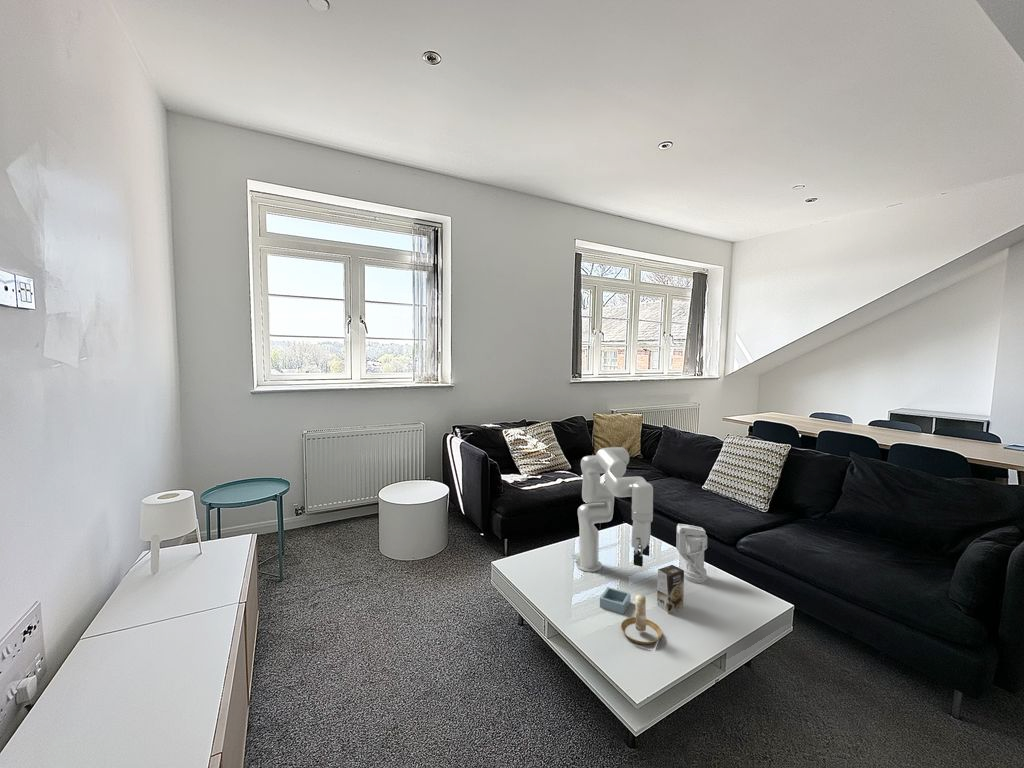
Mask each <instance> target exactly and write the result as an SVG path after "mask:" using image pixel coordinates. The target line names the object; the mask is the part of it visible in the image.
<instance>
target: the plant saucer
mask: <svg viewBox="0 0 1024 768" xmlns="http://www.w3.org/2000/svg"><path fill="white" fill-rule="evenodd" d="M632 624H633V625H634V624H636V616H633V617H628V618H625V619H623V620H622V622H621V624H620V628H621V631H622V633H623V634H624V635H625V636H626V637H627V638H628V639H629V640H630V641H632V642H634V643H637V644H639V645H652V644H655V643H656V642H658V641H659V640H660V639H661V638H662V635H663V631H662V629H661V627H660V626H659V625H658V624H657V623H655V622H654V621H652V620H650V619H648V618H646V626H648V627H650V628H651V629H653V630H654V631H655V632H656V634H657V639H655V640H652V641H642V640H638V639H635V638H633V637H630V636H629V635H627V633H626V631H625V629H626V628H627V627H628V626H629V625H632Z"/></svg>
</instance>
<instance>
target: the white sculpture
mask: <svg viewBox="0 0 1024 768" xmlns="http://www.w3.org/2000/svg"><path fill="white" fill-rule="evenodd" d="M706 533H707V532H706V530H705V529H704V528H703V527H701V526H695V525H692V524H691V525H690V524H685V523H677V525H676V550H677V551H678V553H679V555H680V557H682V558H683V559H684V560H685V565H684V567H683V569H682V570H684V580H686V581H688V582H691V583H693V584H703V583H705V582H706V580H708V576H707V573H708V572H707V569H706V568H705V551H706V550H707V549H708V535H707V534H706Z"/></svg>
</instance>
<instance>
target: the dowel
mask: <svg viewBox="0 0 1024 768" xmlns="http://www.w3.org/2000/svg"><path fill="white" fill-rule="evenodd" d="M646 607H647V605H646V597H645V596H644V595H642V594H638V595H636V596H635V617H636V623H635V629H636V630H637V631H638V632H641V633H643V632H646V630H647V625H646V619H647V618H646V617H647V614H646V613H647V612H646V611H647V609H646Z"/></svg>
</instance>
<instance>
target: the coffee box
mask: <svg viewBox="0 0 1024 768" xmlns="http://www.w3.org/2000/svg"><path fill="white" fill-rule="evenodd" d="M656 585H657V586H656V590H657V593H656V594H657V596H656V597H657V599H656V606H657V607H659V608H661V609H662V610H664V611H665V612H666V613H667V614H671V613H674V612H677V611H679V610H681V609H684V600H685V599H684V595H685V578H684V570H683V569H682V568H680V567H679V566H676V565H674V564H671V565H667V566H664V567H661V568H658V569H657V584H656Z"/></svg>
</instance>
